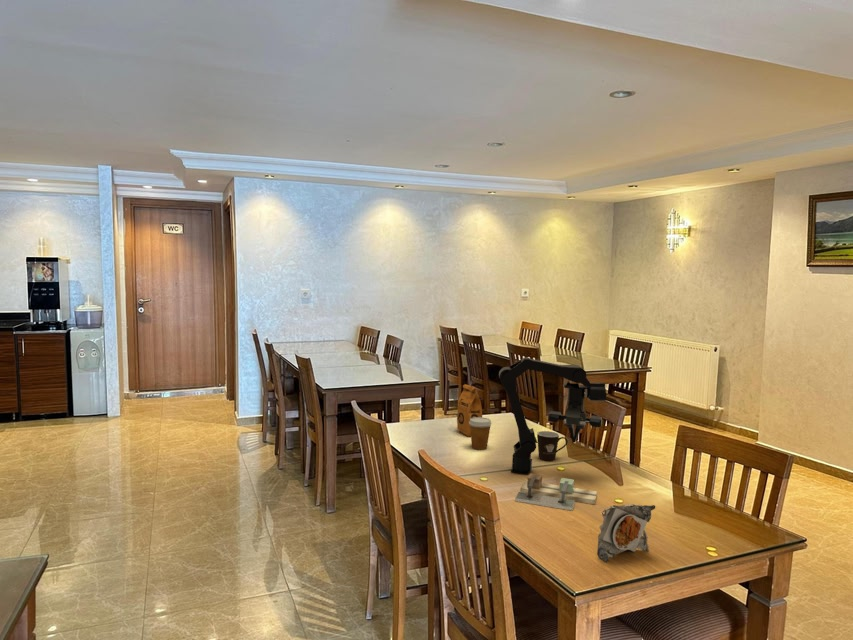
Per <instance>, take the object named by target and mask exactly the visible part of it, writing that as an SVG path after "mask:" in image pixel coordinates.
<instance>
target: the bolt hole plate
mask: <svg viewBox="0 0 853 640" xmlns="http://www.w3.org/2000/svg"><path fill="white" fill-rule="evenodd" d="M514 499H515V500H514V501H515V502H517V503H518V502H519V503H523V504H530V505H536V506H543V507H547V508H548V507H549V508H555V509H559V510H564V511H565V510H566V511H571V512H572V511H573V510H574V507H575V505H576V501H574V500H568V499H565V501H561V498H555V497H549V496H543V495H537V494H531V496H529V495H528V493H525V492H520V491H518V493H517V494H516V496H515V498H514Z"/></svg>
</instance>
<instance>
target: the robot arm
mask: <svg viewBox="0 0 853 640" xmlns="http://www.w3.org/2000/svg"><path fill="white" fill-rule="evenodd" d="M528 370H530V371H535V372H540V373H543V374H549V375H554V376H559V377H561V378H564V379H566V382H565V383H564V384H562V386H563V387H562V388H564V389H567V390H568V391H567V406H566V407H567V408H566V411H565V414H562V412H560V411H553V410H551V411H550V412H549V414H548V416H547V421H548V422H549V423H550V422H551V423H558V422H559V421H564V423H563V426H565V427H566V428H567V429H568V431H569V434H570V437H571V441H572V443H576V440H577V437H578V435H579V433H580V431H581V429H582V428H584V429H585V428H586V425H587V424H589V425H590V426H591V427H593V428H594V427H595V428H601V427H602V424H603V418H602V416H599V415H590V417H587V411H584V408H585V407H584V406H585V399H588V401H589V402H606V400H607V394H608V393H607V389H606V383H605V382H591V381H590V380H589V379H588V378H587V372H586V370H585V369H584V368H583V367H582V366H581V365H577V364H557V363H553V362H547V361H543V360H539V359H533V358H530V357H527V356H526V357H523V358H521V359H520V360H519V361H516V362H514V363H513V364H511V365H509V366H504V367H502V368H501V369H500V370H499V371H498V377H499V380H500V383H501V385H502V387H503V389H504V391H505V392H506V394H507V397H508V399H509V403H510V407H511V409H512V413H513V417H514V420H515V423H516V427H517V430H518V432H517V433H518V441H517V442H516V443H515V444H513V451H514V452H513V453H512V458H511V459H512V462H511V469H510V473H515V474H521V475H530V473H531V472H532V470H533V459H532V458H531V457H532V453H534V452H535V451H536V449H537V444H538V440H537V437H536V435H535V430H534V428H533V427H532V428H529V426H528V423H527V421H526V416H525V413H524V410H523V407H522V404H521V401H520V398H519V397H520V396H519V394H518V389H517V379H516V378H518V377H520V376H521V375H523V374H524V373H525V372H526V371H528ZM570 381H571V382H570ZM580 384H581V385H580Z"/></svg>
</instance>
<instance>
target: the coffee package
mask: <svg viewBox="0 0 853 640" xmlns="http://www.w3.org/2000/svg"><path fill="white" fill-rule="evenodd" d="M462 389H463V390H462V392H461V394H460V395H459V398H458V399H457V417H456V424H457V425H456V426H457V427H456V430H458V431H459V432H461V434H464V435H465V436H467V437H468V438H471V431H470V424H469V421H470V419H471V418H474V417H483V407H482V401H481V399H480V396H479V393H478V390H477V388H476V387H474V386H473V385H468V384H466V383H465V384H463V385H462Z"/></svg>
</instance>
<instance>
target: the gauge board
mask: <svg viewBox="0 0 853 640" xmlns="http://www.w3.org/2000/svg"><path fill="white" fill-rule="evenodd" d="M519 489H520V490H519V492H525V493H528V495H529V496H531V494H537V495H543V496H549V497H555V498H561V496H562V493H561V491H559V490H560V484H552V483H545V482H543V474H538V473H533V472H529V474H528V476H527V480H526V479H525V480H524V481H523V483H522V485H521V486H520V487H519ZM597 495H598V490H589V489H584V488H577V487H574V488H573V491H572V493H568V492H566V493H565V499H568V500H574V501H575V503H576V502H577V503H583V504H588V505H596V501H597V497H598V496H597Z"/></svg>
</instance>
